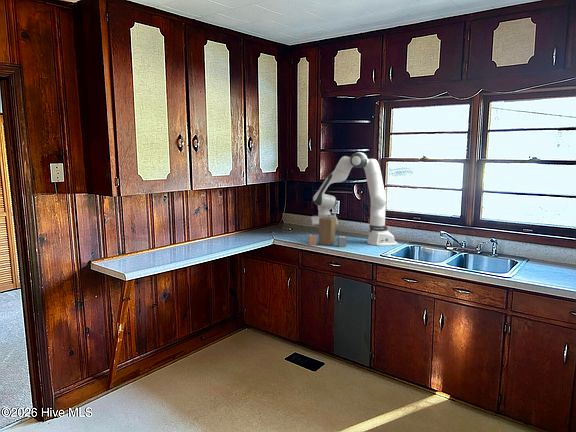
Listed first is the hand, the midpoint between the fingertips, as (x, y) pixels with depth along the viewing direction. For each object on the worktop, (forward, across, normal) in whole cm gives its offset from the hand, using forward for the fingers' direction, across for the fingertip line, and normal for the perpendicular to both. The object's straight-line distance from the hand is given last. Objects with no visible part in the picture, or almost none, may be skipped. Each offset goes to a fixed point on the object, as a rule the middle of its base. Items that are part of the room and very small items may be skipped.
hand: (325, 230), depth 320 cm
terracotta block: (+12, -11, 0) cm, 16 cm away
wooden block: (+11, 0, +1) cm, 11 cm away
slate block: (+16, +10, -4) cm, 20 cm away
